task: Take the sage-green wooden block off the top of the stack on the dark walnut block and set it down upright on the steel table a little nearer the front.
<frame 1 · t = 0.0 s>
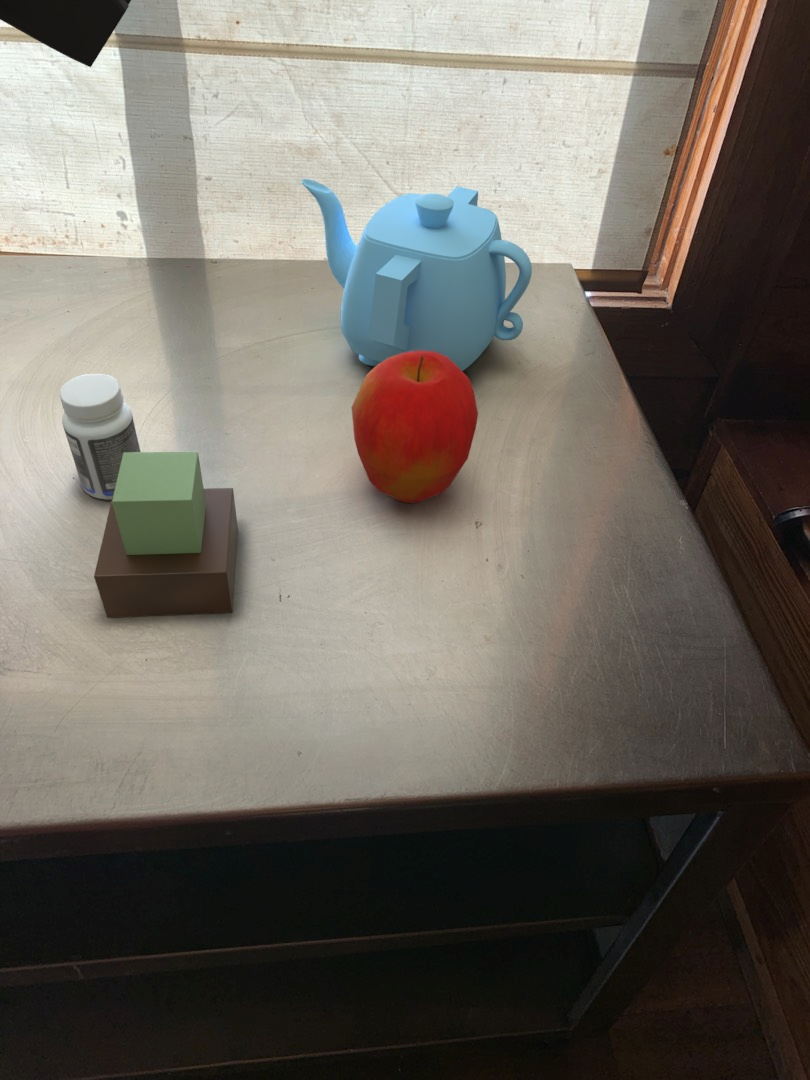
hand: (128, 7, 26), 34 cm above the table, tool tilted 50°, fingers open, 7 cm apart
walnut base: (176, 570, 54), on the table, touching green block
pill bottle: (114, 482, 60), on the table
green block: (167, 529, 51), point 4 cm above the table, touching walnut base
teapot: (406, 346, 77), on the table
apple: (408, 490, 62), on the table
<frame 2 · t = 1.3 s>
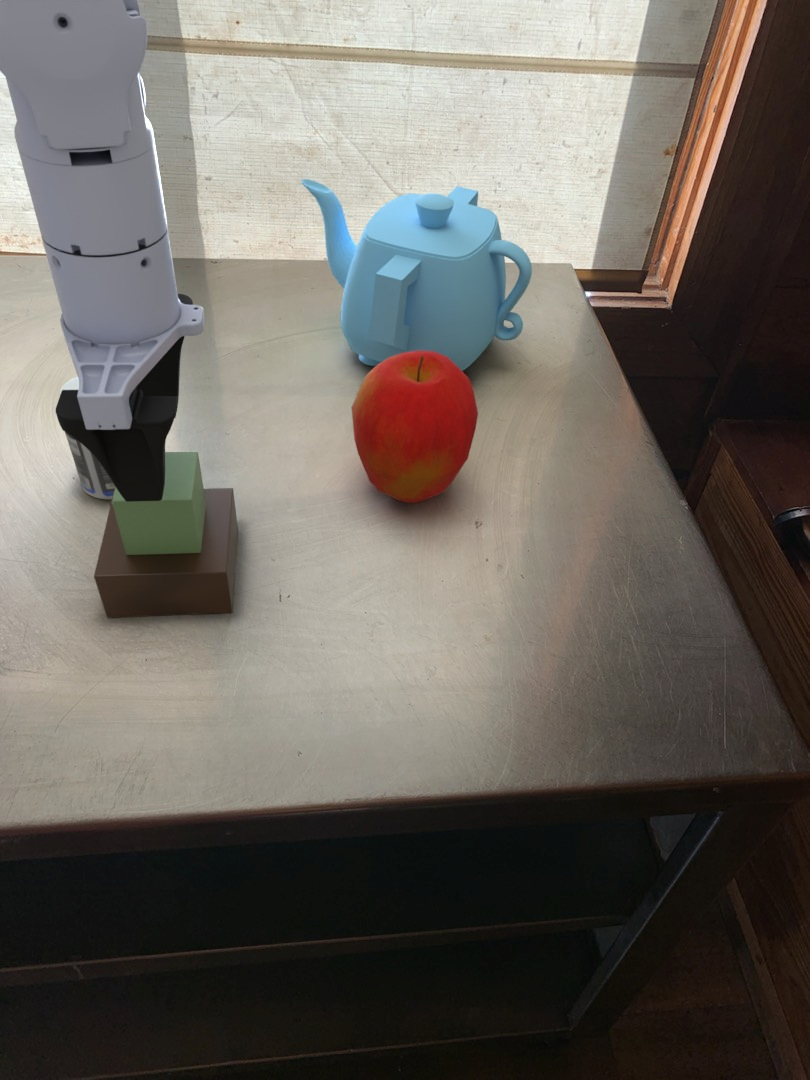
hand: (152, 453, 47), 10 cm above the table, tool pointing down, fingers open, 7 cm apart
nothing on the table moved.
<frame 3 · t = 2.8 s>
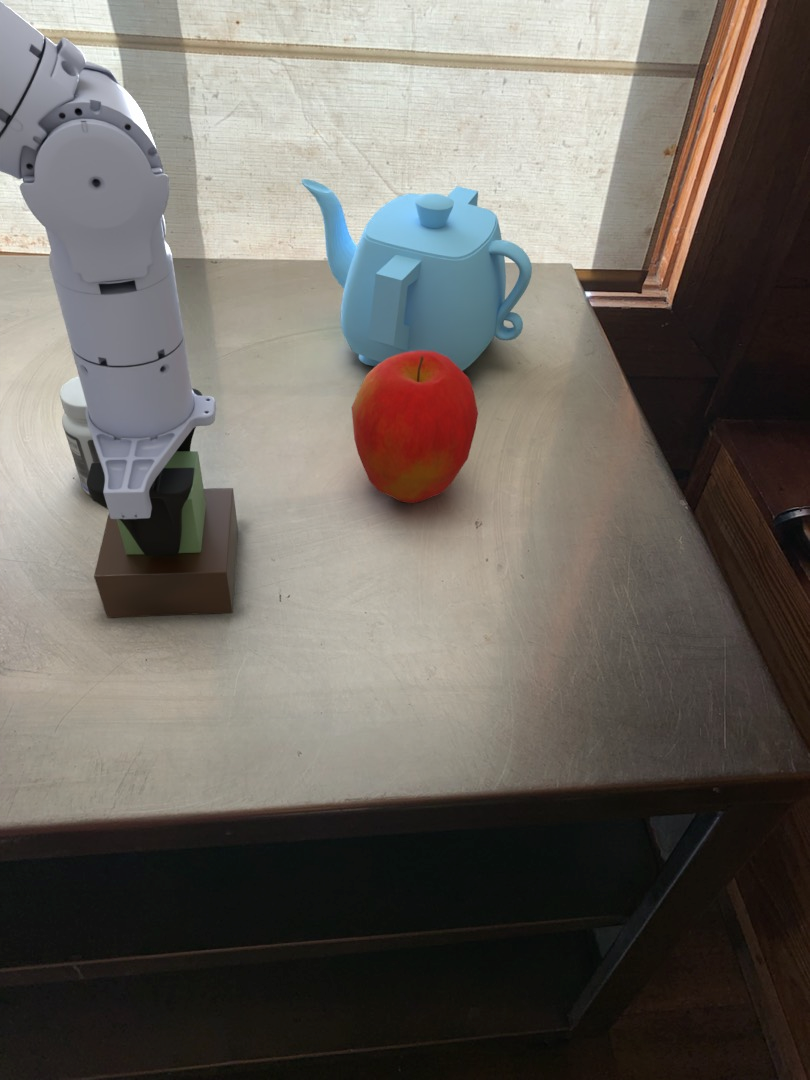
hand: (166, 523, 51), 5 cm above the table, tool pointing down, fingers closed on green block, 4 cm apart
green block: (167, 528, 51), point 4 cm above the table, touching gripper, walnut base
everything else where it was.
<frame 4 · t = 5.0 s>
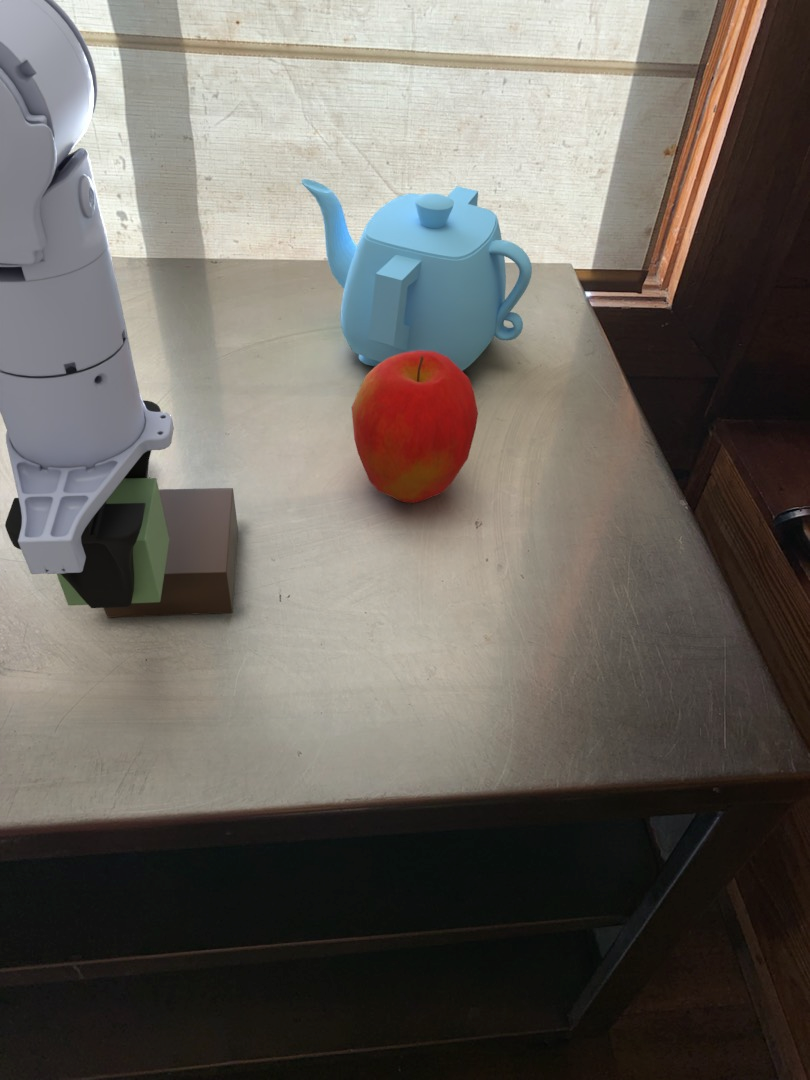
hand: (118, 565, 42), 9 cm above the table, tool pointing down, fingers closed on green block, 4 cm apart
walnut base: (176, 570, 54), on the table
green block: (120, 571, 42), point 9 cm above the table, touching gripper
everything else where it was.
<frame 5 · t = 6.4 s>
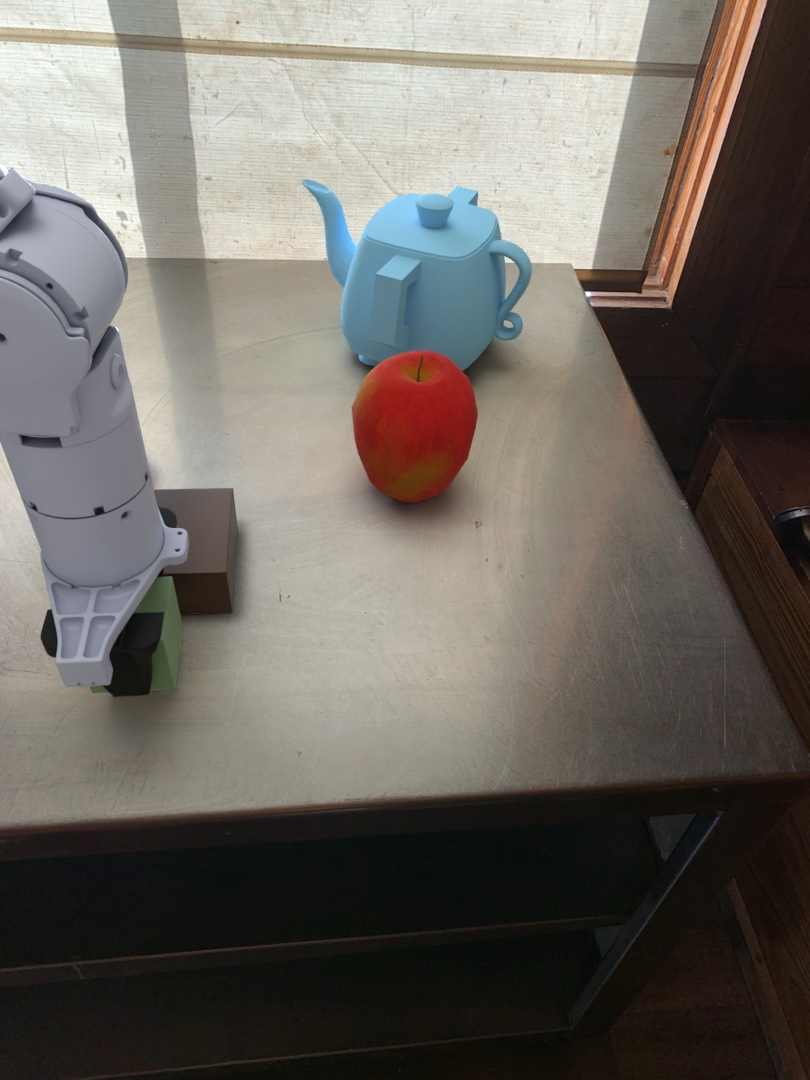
hand: (137, 654, 46), 3 cm above the table, tool pointing down, fingers closed on green block, 4 cm apart
green block: (139, 658, 46), point 2 cm above the table, touching gripper
everything else where it was.
when the fingers open (0 cm above the table, at t = 7.6 s): green block stays where it is, on the table.
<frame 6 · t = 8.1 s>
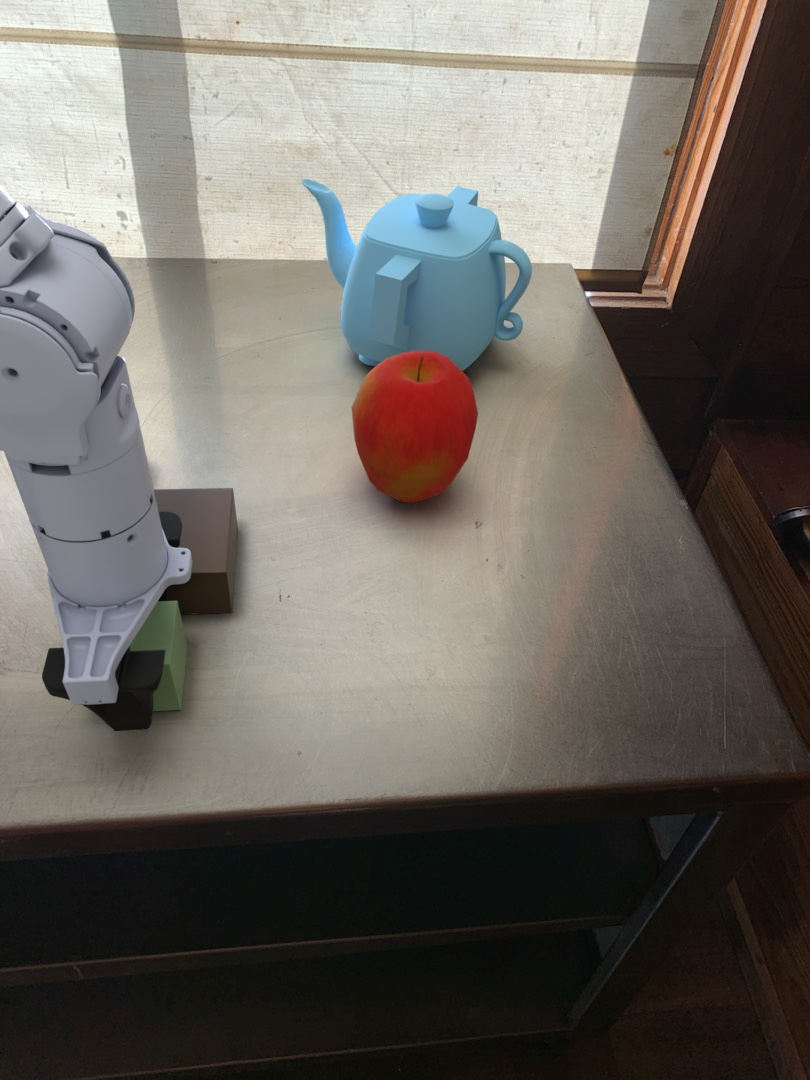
hand: (141, 668, 47), 1 cm above the table, tool pointing down, fingers open, 7 cm apart
green block: (145, 679, 48), on the table
everything else where it was.
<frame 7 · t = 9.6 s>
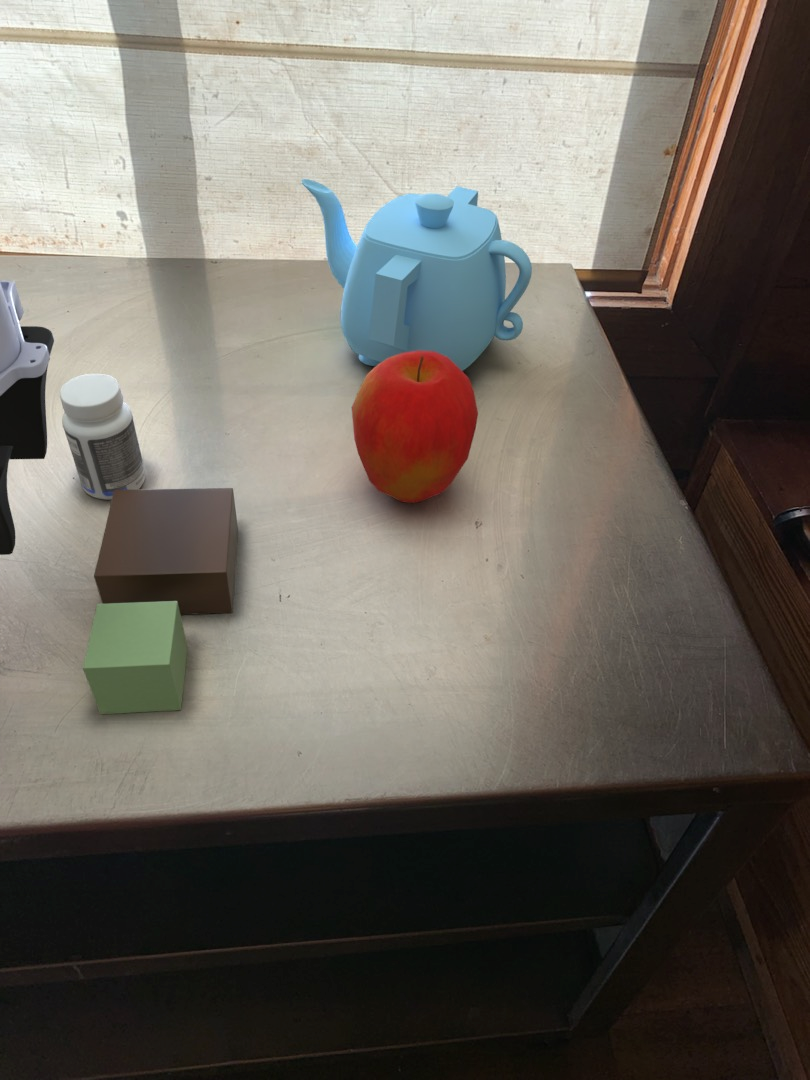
hand: (11, 500, 43), 10 cm above the table, tool pointing down, fingers open, 7 cm apart
nothing on the table moved.
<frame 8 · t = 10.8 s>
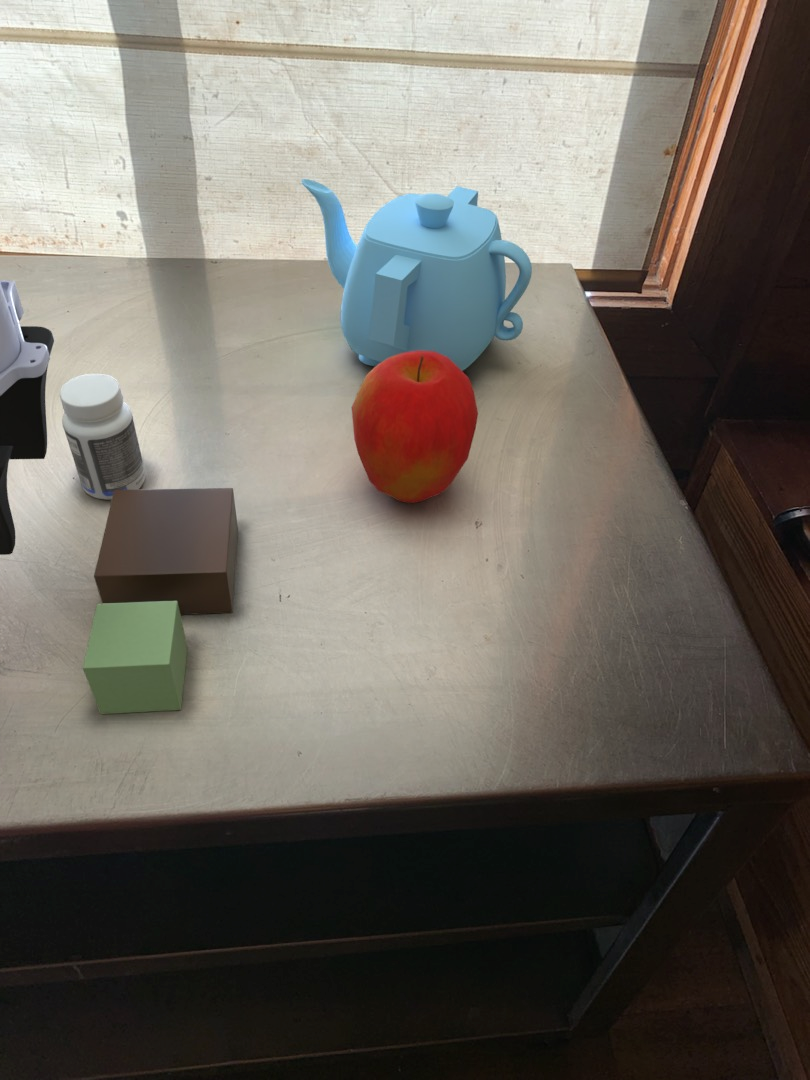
hand: (11, 500, 43), 10 cm above the table, tool pointing down, fingers open, 7 cm apart
nothing on the table moved.
at the end: green block 0.1 cm from the target spot, on the table; green block tilted 0°; teapot moved 0.2 cm from its start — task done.
